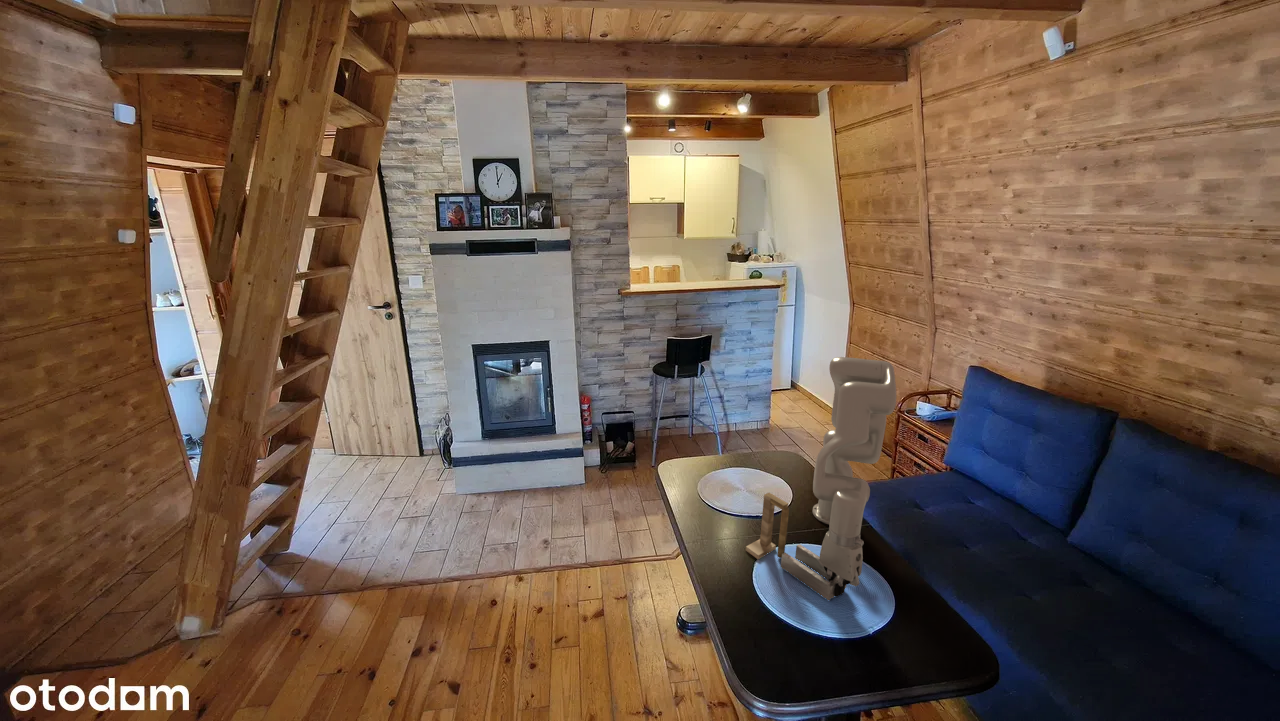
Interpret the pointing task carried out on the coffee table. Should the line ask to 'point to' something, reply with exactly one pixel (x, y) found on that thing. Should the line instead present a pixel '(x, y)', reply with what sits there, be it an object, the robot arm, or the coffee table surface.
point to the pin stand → (770, 528)
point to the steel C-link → (809, 571)
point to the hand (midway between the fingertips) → (835, 591)
